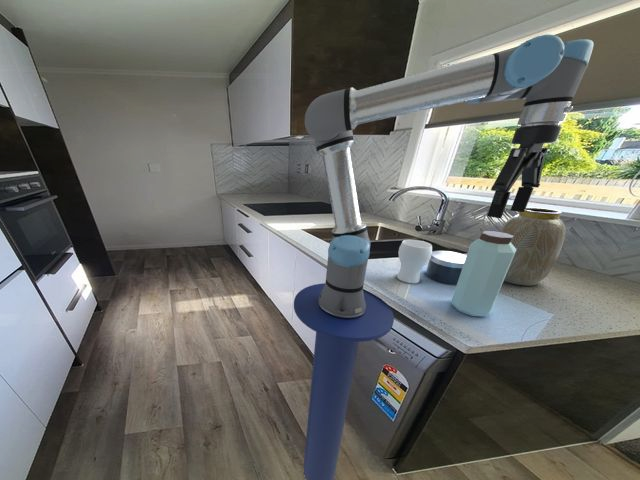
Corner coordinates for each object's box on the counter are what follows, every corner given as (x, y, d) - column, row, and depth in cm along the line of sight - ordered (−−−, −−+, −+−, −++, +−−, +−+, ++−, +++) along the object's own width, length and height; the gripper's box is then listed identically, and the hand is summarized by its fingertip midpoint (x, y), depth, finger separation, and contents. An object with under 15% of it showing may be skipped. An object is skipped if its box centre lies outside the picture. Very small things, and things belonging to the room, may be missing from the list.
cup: (387, 275, 100) (394, 240, 94) (406, 271, 103) (415, 237, 97) (409, 287, 91) (418, 250, 85) (430, 282, 94) (441, 246, 88)
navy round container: (418, 274, 100) (423, 254, 97) (436, 267, 106) (442, 248, 102) (453, 288, 89) (461, 266, 86) (471, 280, 95) (479, 258, 91)
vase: (550, 280, 93) (585, 211, 83) (535, 293, 85) (572, 218, 75) (492, 265, 107) (516, 203, 97) (475, 274, 99) (499, 209, 89)
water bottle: (494, 322, 71) (529, 242, 61) (452, 313, 76) (478, 236, 66) (485, 305, 79) (515, 231, 69) (447, 297, 84) (470, 227, 74)
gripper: (540, 121, 49) (502, 223, 57) (580, 125, 60) (544, 211, 68) (493, 125, 55) (465, 217, 63) (537, 128, 66) (508, 206, 74)
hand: (506, 214), depth 66 cm, fingers open, 13 cm apart
